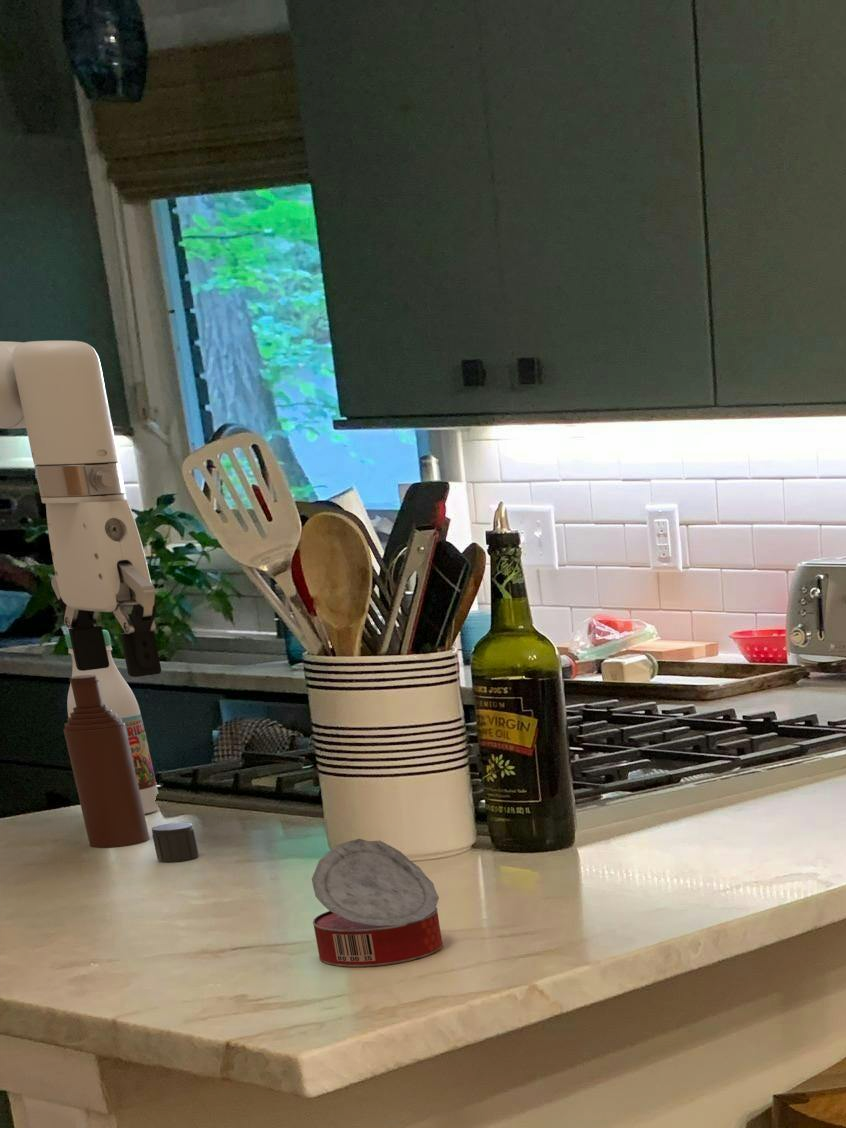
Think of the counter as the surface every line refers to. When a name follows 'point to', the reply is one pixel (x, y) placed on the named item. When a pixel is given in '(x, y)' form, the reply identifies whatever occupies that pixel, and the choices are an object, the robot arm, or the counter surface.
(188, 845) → the cap
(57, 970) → the counter surface
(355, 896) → the canned food
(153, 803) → the milk bottle
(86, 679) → the sauce bottle
